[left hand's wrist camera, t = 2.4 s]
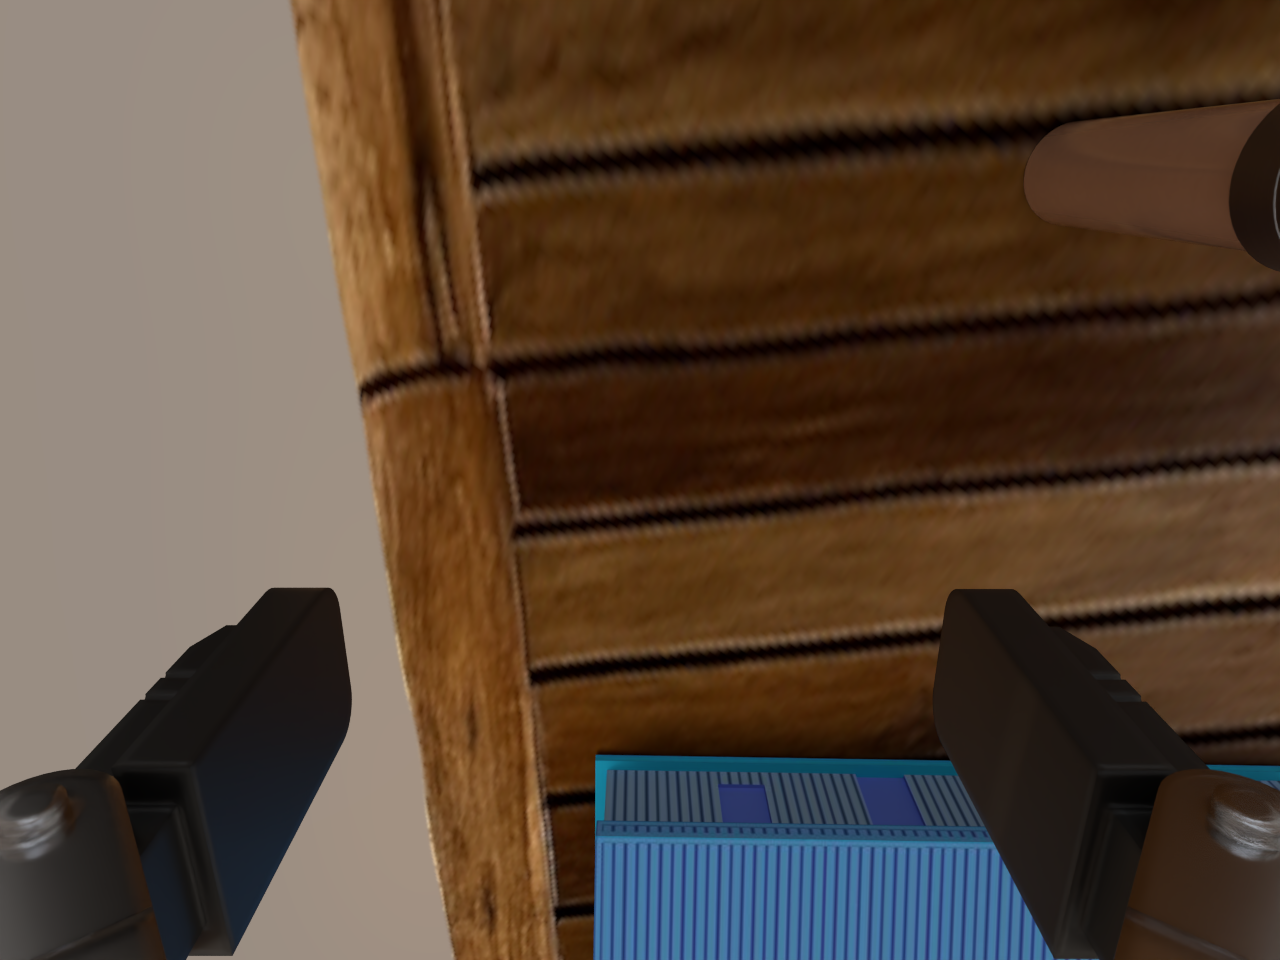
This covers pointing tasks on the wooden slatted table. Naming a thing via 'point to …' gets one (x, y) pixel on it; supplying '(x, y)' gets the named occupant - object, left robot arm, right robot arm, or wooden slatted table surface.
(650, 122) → the wooden slatted table surface
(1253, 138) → the lid
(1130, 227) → the brown cylinder
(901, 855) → the model building
